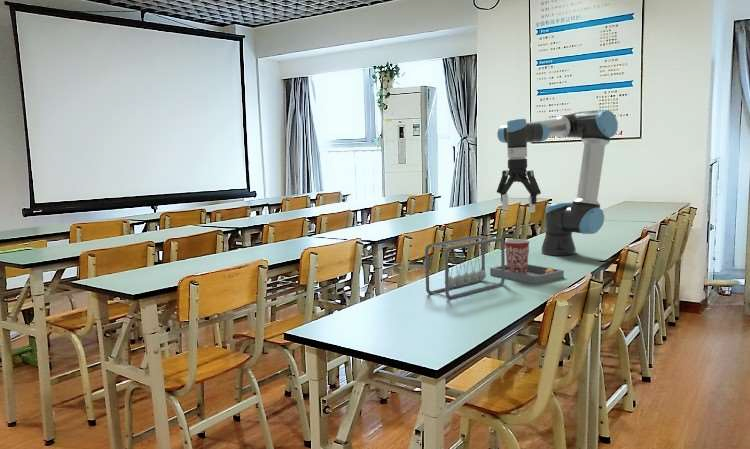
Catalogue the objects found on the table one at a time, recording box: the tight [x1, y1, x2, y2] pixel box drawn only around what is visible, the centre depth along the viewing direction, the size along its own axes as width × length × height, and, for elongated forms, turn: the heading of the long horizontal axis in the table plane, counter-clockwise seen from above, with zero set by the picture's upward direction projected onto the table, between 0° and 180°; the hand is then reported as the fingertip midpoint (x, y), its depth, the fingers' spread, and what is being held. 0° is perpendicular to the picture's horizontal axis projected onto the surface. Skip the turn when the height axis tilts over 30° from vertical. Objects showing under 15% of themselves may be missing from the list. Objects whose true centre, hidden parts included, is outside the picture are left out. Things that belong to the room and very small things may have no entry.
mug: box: [504, 238, 530, 274], centre depth 228 cm, size 13×9×14 cm
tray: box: [489, 263, 565, 285], centre depth 226 cm, size 16×22×3 cm
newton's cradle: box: [424, 234, 506, 300], centre depth 209 cm, size 30×10×18 cm, turn 129°
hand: (518, 211), depth 239 cm, fingers open, 13 cm apart
